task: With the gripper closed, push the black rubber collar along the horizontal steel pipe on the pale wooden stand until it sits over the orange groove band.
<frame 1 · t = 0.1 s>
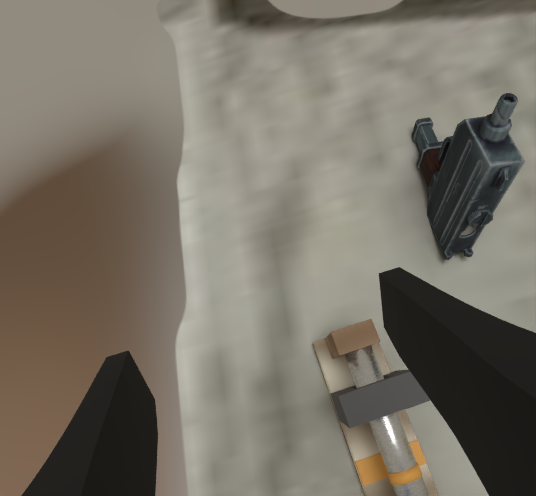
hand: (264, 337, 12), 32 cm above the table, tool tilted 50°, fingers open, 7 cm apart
pipe stand: (374, 426, 41), on the table
collar: (375, 396, 36), point 6 cm above the table, slide at 0.0 cm
gun: (433, 194, 48), on the table
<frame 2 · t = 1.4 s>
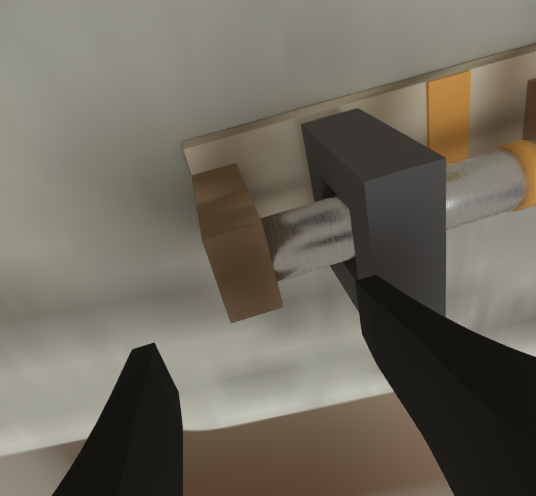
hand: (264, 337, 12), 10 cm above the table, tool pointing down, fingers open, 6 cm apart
pipe stand: (377, 150, 22), on the table
collar: (368, 219, 16), point 6 cm above the table, slide at 0.0 cm
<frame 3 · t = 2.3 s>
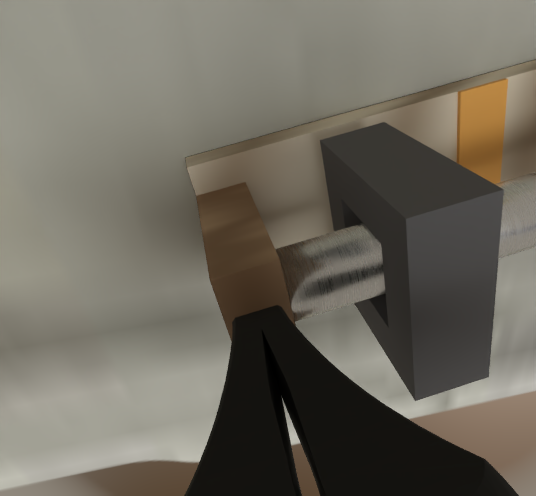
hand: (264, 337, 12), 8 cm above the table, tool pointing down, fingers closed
pipe stand: (400, 165, 20), on the table
collar: (398, 250, 14), point 6 cm above the table, slide at 0.0 cm
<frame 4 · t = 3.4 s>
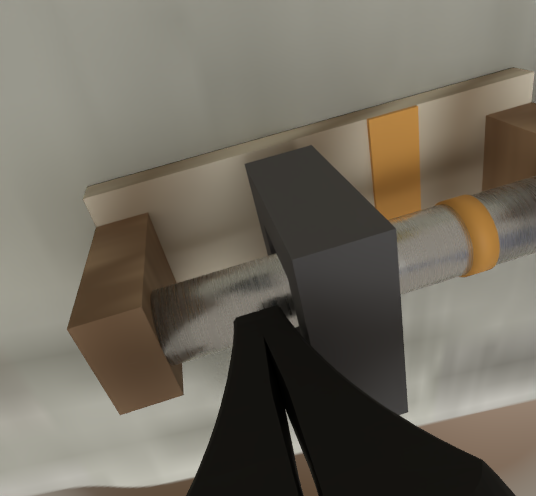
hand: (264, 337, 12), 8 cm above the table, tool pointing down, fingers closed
pipe stand: (319, 191, 19), on the table
collar: (320, 279, 14), point 6 cm above the table, slide at 1.1 cm, touching gripper
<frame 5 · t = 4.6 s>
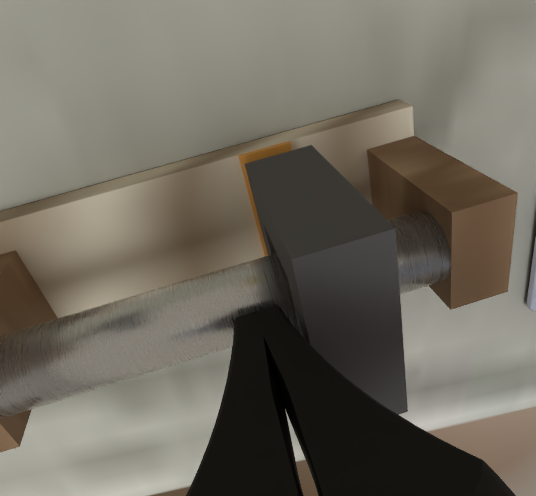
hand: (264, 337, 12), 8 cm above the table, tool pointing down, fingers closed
pipe stand: (206, 224, 19), on the table
collar: (320, 279, 14), point 6 cm above the table, slide at 6.2 cm, touching gripper
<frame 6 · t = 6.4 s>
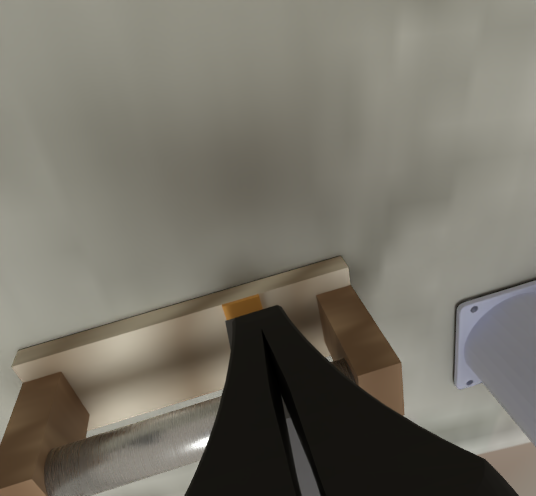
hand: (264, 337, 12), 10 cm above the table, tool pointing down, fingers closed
pipe stand: (199, 341, 25), on the table
collar: (275, 407, 20), point 6 cm above the table, slide at 6.2 cm
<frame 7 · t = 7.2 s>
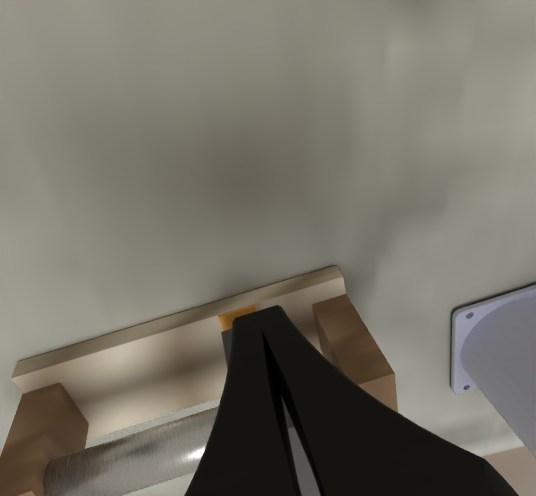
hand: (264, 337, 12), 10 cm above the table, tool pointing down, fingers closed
pipe stand: (196, 350, 26), on the table
collar: (271, 417, 21), point 6 cm above the table, slide at 6.2 cm
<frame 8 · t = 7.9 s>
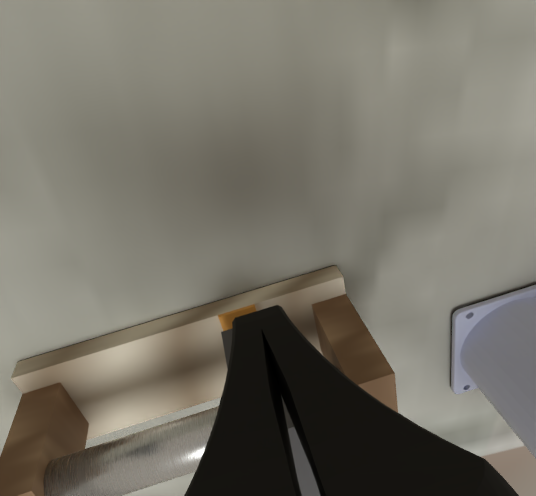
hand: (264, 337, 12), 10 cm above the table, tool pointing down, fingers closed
pipe stand: (196, 350, 26), on the table
collar: (271, 417, 21), point 6 cm above the table, slide at 6.2 cm
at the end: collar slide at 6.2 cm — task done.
